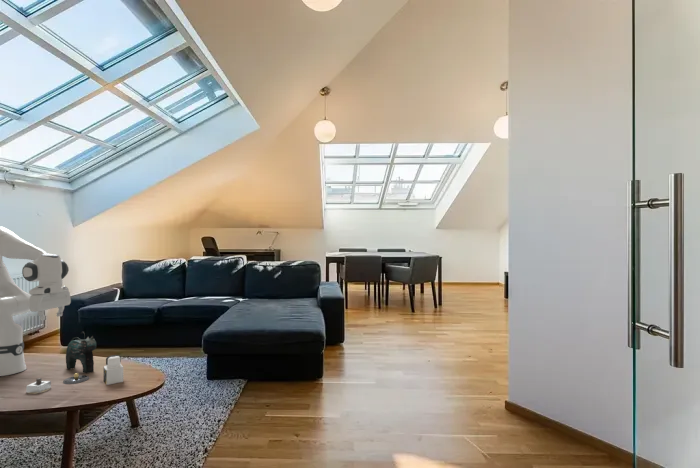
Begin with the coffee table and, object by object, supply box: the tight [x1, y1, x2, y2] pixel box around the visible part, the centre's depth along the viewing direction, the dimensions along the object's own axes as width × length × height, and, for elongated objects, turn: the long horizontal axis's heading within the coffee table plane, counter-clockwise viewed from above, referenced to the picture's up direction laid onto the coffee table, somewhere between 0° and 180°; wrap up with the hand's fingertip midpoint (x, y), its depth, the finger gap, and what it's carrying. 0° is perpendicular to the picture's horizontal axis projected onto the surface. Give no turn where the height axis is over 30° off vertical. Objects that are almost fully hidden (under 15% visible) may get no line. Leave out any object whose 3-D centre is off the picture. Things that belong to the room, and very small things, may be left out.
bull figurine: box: [65, 331, 97, 374], centre depth 205 cm, size 20×6×20 cm, turn 64°
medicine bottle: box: [103, 354, 124, 386], centre depth 189 cm, size 7×7×12 cm
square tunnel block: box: [25, 380, 52, 394], centre depth 176 cm, size 6×6×3 cm
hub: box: [62, 372, 90, 385], centre depth 188 cm, size 10×10×4 cm
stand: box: [27, 377, 51, 395], centre depth 176 cm, size 8×8×6 cm
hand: (51, 318), depth 187 cm, fingers open, 8 cm apart
